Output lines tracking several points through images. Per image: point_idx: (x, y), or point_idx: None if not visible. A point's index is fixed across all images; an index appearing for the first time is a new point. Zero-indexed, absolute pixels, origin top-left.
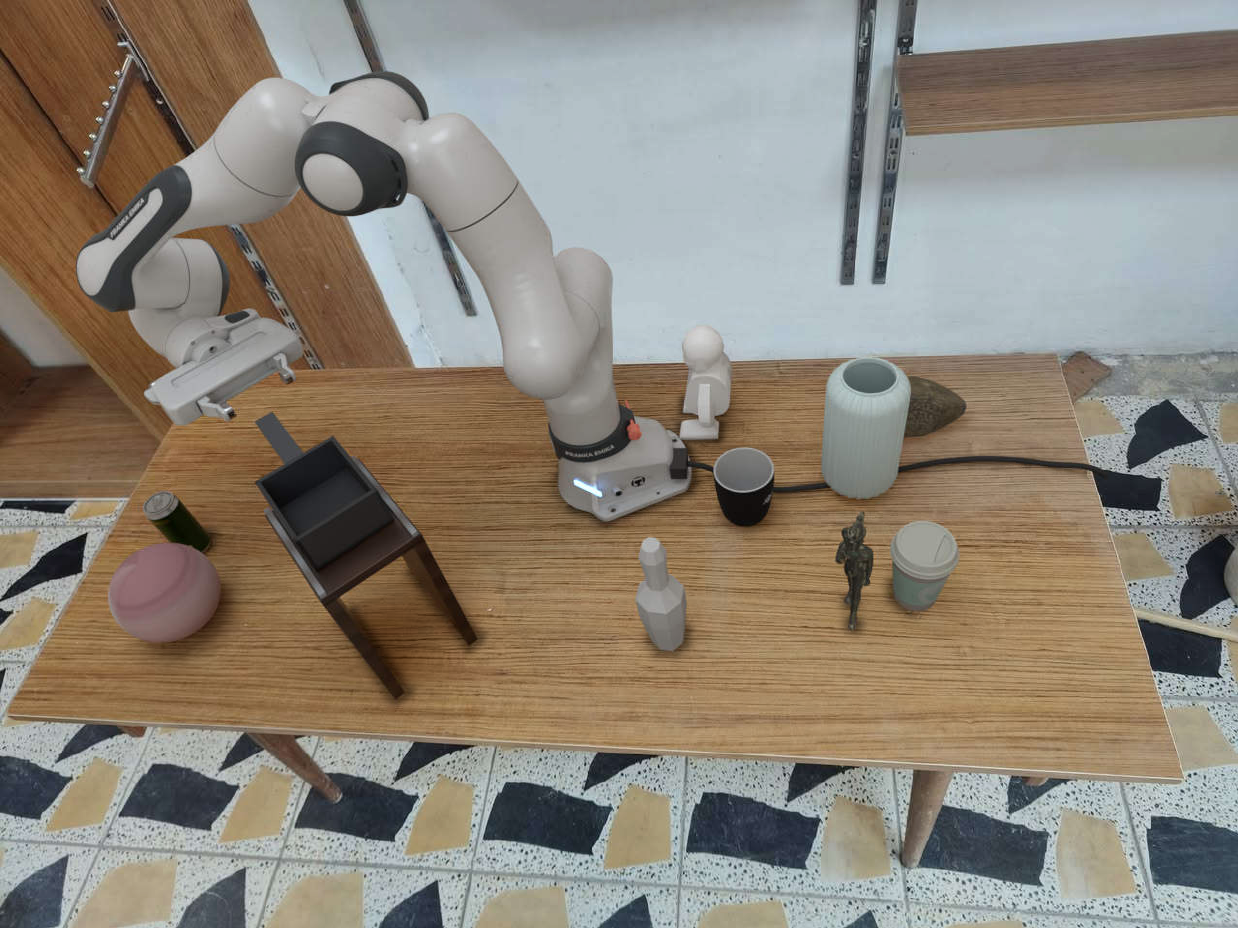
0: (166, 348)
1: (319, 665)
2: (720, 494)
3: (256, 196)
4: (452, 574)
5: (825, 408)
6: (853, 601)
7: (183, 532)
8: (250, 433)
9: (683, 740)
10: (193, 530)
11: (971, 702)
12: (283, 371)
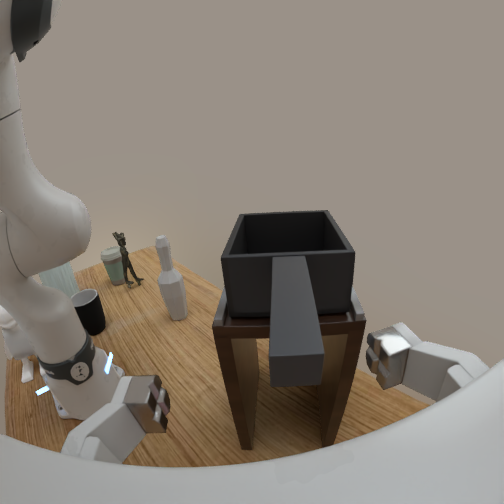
0: None
1: (364, 418)
2: (96, 307)
3: None
4: (226, 423)
5: (53, 271)
6: (134, 272)
7: None
8: None
9: (218, 290)
10: None
11: (153, 263)
12: (137, 390)
